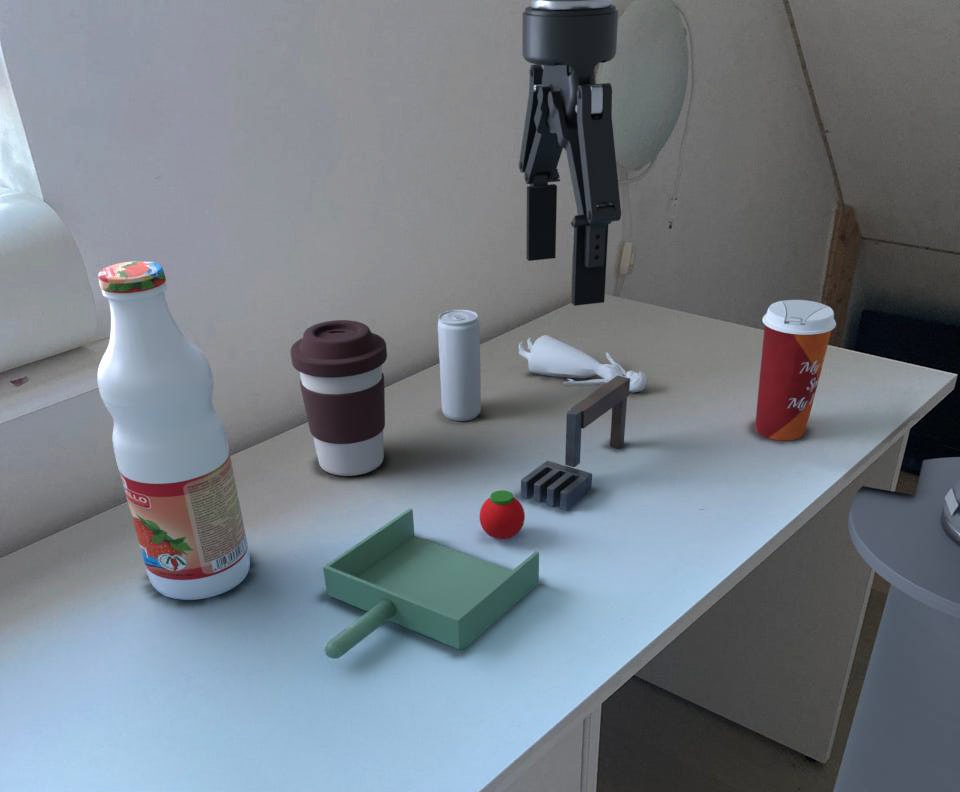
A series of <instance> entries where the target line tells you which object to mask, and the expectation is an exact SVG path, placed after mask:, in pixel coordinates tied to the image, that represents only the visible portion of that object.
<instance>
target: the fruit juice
mask: <svg viewBox="0 0 960 792" xmlns="http://www.w3.org/2000/svg"><path fill="white" fill-rule="evenodd" d="M97 275H98V284H99V288H100V291H101V294H102V295H103V297H104V298H106V299H107V301H108V306H109V311H110V335H109V340H108V341H109V342H108V344H107V345H108V346H107V348H106V350H105V352H104V354H103V356H102V358H101V360H100V362H99V365H98V368H97V375H96V377H97V378H96V380H97V386H98V391H99V395H100V398H101V400H102V402H103V405H104V406H105V408H106V409H107V411H108V413H109V414H110V416H111V417H112V420H113V429H112V433H111V434H112V436H111V437H112V438H111V439H112V447H113V452H114V457H115V462H116V466H117V469H118V472H119V475H120V478H121V479H120V480H121V482H122V486H123V490H124V493H125V497H126V502H127V505H128V508H129V512H130V515H131V519H132V524H133V527H134V530H135V534H136V537H137V541H138V544H139V549H140V552H141V556H142V559H143V563H144V567H145V570H146V574H147V577H148V579H149V581H150V583H151V584H152V587H153V588H154V589H155V590H156V591H157V592H158V593H160V594H161V595H163V596H165V597H167V598H171V599H175V600H183V601H193V600H194V601H195V600H202V599H204V600H205V599H209V598H213V597H215V596H219V595H222V594H224V593H226V592H229V591H231V590H232V589H234V588H236V587H237V586H238V585H240V584H241V583H242V582H243V581H244V580H245V578H246V577H247V575H248V574H249V571H250V566H251V555H250V550H249V545H248V541H247V540H248V539H247V534H246V528H245V525H244V519H243V514H242V508H241V503H240V498H239V494H238V488H237V483H236V478H235V473H234V468H233V463H232V458H231V453H230V447H229V441H228V437H227V434H226V430H225V427H224V424H223V421H222V419H221V417H220V416H219V414H218V413H217V411H216V409H215V408H214V404H213V398H214V397H213V396H214V375H213V372H212V368H211V364H210V362H209V360H208V358H207V356H206V355H205V353H204V352H203V351H202V349H200V348H199V347H198V345H196V344H195V343H194V342H193V341H192V340H190V339H189V338H188V337H187V336H186V335H185V333H183V331H182V330H181V329H180V327H179V325H178V323H177V322H176V320H175V318H174V316H173V314H172V312H171V310H170V307H169V305H168V302H167V299H166V295H165V294H166V293H165V291H166V290H167V286H168V285H167V278H166V274H165V271H164V268H163V266H162V265H161V264H159V263H158V262H153V261H144V260H137V261H135V260H133V261H127V262H126V261H125V262H119V263H116V264H115V263H114V264H112V265H109V266H107V267H104V268H102V269H101V270H100V271H99V272H98V274H97Z"/></svg>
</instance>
